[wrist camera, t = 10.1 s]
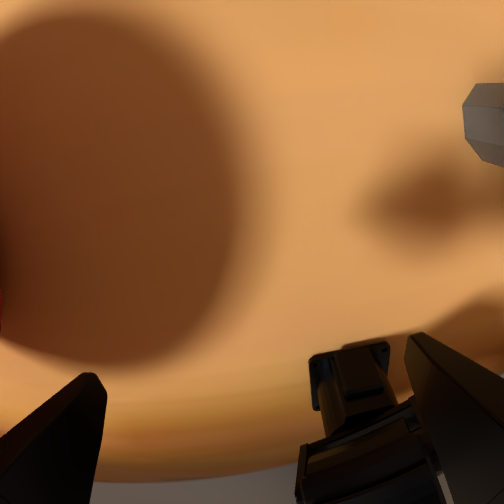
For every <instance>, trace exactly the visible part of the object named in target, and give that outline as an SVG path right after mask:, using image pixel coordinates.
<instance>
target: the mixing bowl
mask: <svg viewBox="0 0 504 504" xmlns="http://www.w3.org/2000/svg"><path fill="white" fill-rule="evenodd" d="M1 318H2V298H1V287H0V329H1Z"/></svg>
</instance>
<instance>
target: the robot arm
mask: <svg viewBox="0 0 504 504" xmlns="http://www.w3.org/2000/svg"><path fill="white" fill-rule="evenodd" d="M383 348H384V349H383ZM389 357H390V345H389V344H388V343H387V342H382V343H377V344H373V345H369V346H364V347H359V348H355V349H350V350H345V351H340V352H335V353H330V354H325V355H319V356H314V357H311V358H310V359H309V361H308V364H309V375H310V386H311V397H312V407H313V410H314V411H321V415H322V420H323V425H324V430H325V435H326V438H323V439H321V440H318V441H316V442H313V443H310V444H308V443H307V444H304V445H301V446H300V453H299V459H298V469H297V477H296V486H295V498H296V503H297V504H446V500H445V497H444V494H443V491H442V488H441V486H440V483H439V480H438V478H437V477H438V476H440V475H442V474H444V475H445V478H446V481H447V484H448V486H449V489H450V492H451V495H452V498H453V501H454V504H504V378H502V377H500V376H499V375H497V374H495V373H493V372H492V371H490V370H488V369H487V368H485V367H483V366H481V365H480V364H478V363H476V362H474V361H473V360H471V359H469V358H467V357H466V356H464V355H462V354H460V353H459V352H457V351H455V350H453V349H452V348H450V347H448V346H446V345H445V344H443V343H441V342H439V341H438V340H436V339H434V338H432V337H431V336H429V335H427V334H425V333H423V332H419V333H415V334H411V335H409V336H408V339H407V344H406V350H405V356H404V361H405V366H406V369H407V372H408V375H409V379H410V382H411V385H412V388H413V392H414V395H413V396H411V397H409V398H408V400H406V401H404V402H402V403H400V404H398V402H397V399H396V397H395V395H394V392H393V390H392V388H391V385H390V383H389V381H388V378H387V373H388V365H389ZM314 362H317V363H314ZM106 405H107V392H106V390H105V388H104V386H103V385H102V383H101V381H100V380H99V378H98V376H97V375H96V374H95V373H92V372H84V373H81V374H80V375H79V376H77V377H76V378H75V379H74V380H72V381H71V382H70V383H69V384H67V385H66V386H65V387H63V388H62V389H61V390H60V391H58V392H57V393H56V394H55V395H53V396H52V397H51V398H50V399H48V400H47V401H46V402H45V403H43V404H42V405H41V406H40V407H38V408H37V409H36V410H35V411H33V412H32V413H31V414H30V415H28V416H27V417H26V418H25V419H23V420H22V421H21V422H20V423H18V424H17V425H16V426H15V427H13V428H12V429H11V430H10V431H8V432H7V434H4V435H3V436H2V437H1V438H0V504H89V502H90V497H91V492H92V486H93V481H94V476H95V470H96V465H97V461H98V456H99V451H100V447H101V442H102V435H103V428H104V420H105V412H106Z"/></svg>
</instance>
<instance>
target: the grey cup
mask: <svg viewBox="0 0 504 504" xmlns="http://www.w3.org/2000/svg"><path fill="white" fill-rule="evenodd" d="M462 107H463V117H464V129H465V139H466V140H467V141H468V143H469V144H470V145H471V146H472V148H473V149H474V150H475V152H476V153H477V154H478V156H479V157H480V158H481V160H482V161H486V162H489V163H492V164H495V165H498V166H501V167H504V83H483V84H476V85H475V86H474V88H473V89H472V91H471V93H470V94H469V96H468V97H467V99H466V100H465V102H464V103H463V106H462Z"/></svg>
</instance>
